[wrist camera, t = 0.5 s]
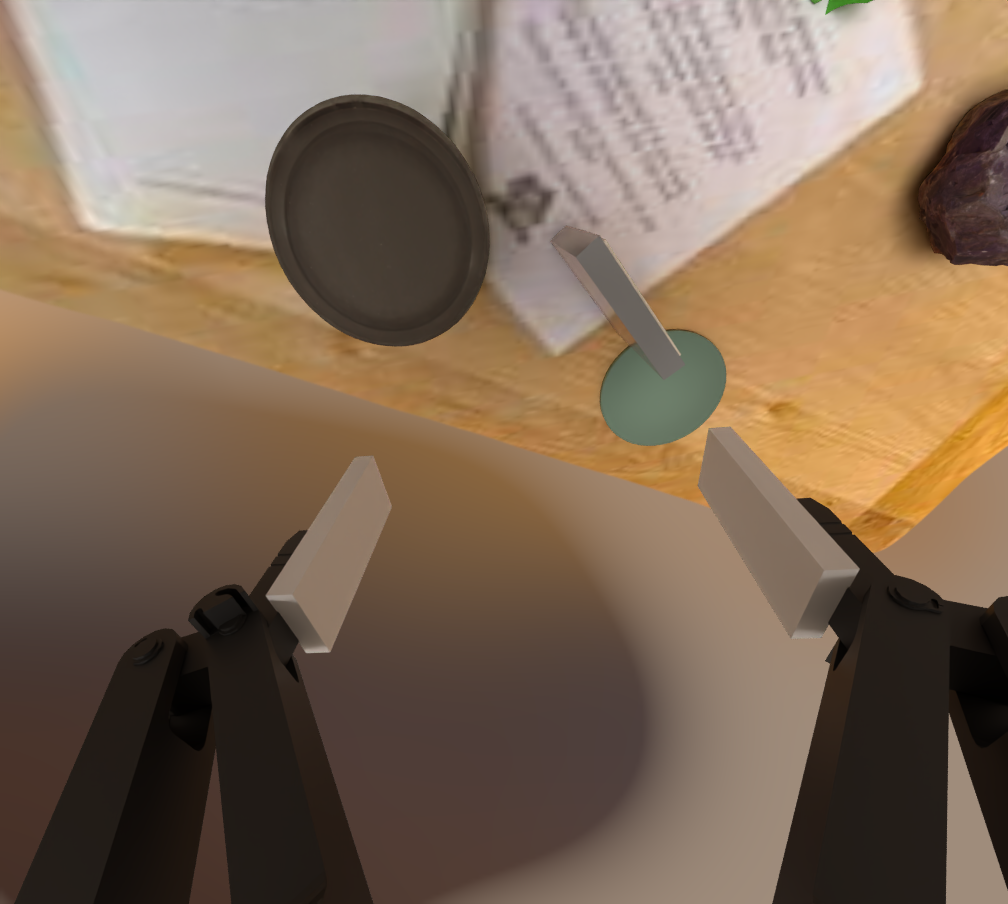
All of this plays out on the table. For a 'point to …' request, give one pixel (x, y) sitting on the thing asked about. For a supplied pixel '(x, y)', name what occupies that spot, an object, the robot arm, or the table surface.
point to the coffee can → (377, 220)
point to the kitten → (840, 3)
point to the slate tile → (618, 298)
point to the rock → (971, 189)
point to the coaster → (663, 392)
